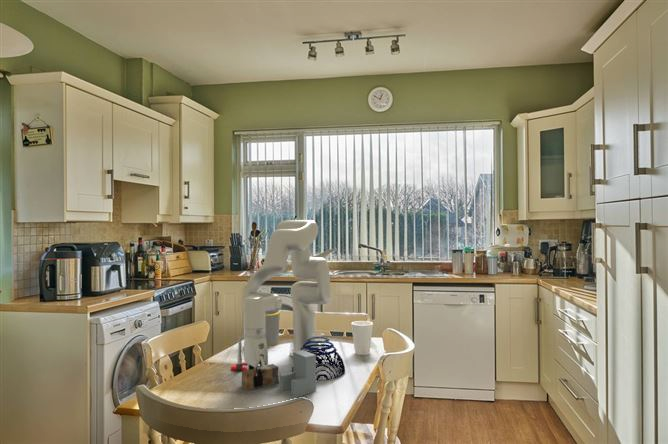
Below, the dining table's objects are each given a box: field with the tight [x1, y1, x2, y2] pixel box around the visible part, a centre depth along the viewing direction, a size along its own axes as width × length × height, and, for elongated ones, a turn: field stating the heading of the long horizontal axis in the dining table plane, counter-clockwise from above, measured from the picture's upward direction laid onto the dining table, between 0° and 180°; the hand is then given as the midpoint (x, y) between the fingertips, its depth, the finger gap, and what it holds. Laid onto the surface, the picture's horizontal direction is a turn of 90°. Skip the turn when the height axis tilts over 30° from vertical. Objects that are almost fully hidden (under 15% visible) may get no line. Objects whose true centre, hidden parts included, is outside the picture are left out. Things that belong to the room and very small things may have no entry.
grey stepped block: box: [279, 350, 317, 399], centre depth 152 cm, size 10×9×12 cm
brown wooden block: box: [241, 363, 280, 391], centre depth 158 cm, size 12×4×6 cm, turn 127°
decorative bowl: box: [291, 332, 346, 382], centre depth 171 cm, size 20×20×14 cm
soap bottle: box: [265, 310, 281, 348], centre depth 214 cm, size 13×13×21 cm
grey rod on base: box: [230, 336, 247, 372], centre depth 178 cm, size 8×13×9 cm
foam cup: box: [350, 320, 374, 356], centre depth 196 cm, size 10×9×13 cm
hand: (255, 384), depth 156 cm, fingers closed on brown wooden block, 4 cm apart
